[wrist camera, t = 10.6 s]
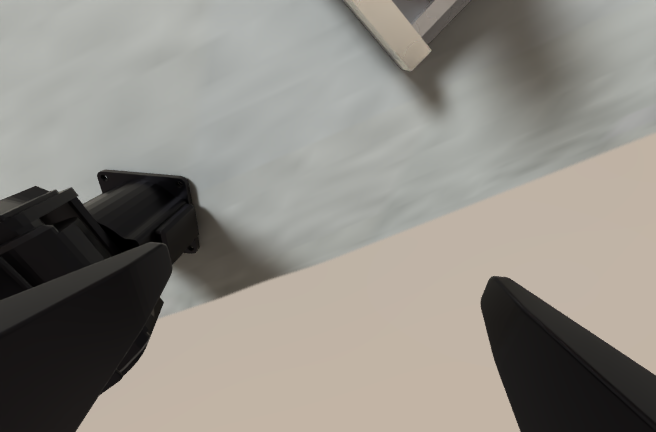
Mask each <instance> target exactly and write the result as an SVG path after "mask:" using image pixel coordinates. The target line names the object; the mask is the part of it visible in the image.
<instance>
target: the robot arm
mask: <svg viewBox="0 0 656 432" xmlns="http://www.w3.org/2000/svg"><path fill="white" fill-rule="evenodd" d="M105 176H107V178H108V179H107V178H106V177H105ZM97 177H98V181H99V184H100V187H101V190H102V194H101V195H99V196H97V197H95V198H93V199H91V200H90V201H88V202H86V203H84V204H82V203H81V201H80V200H79V199H78V198H77V196H78V194H77V193H76V192H75V191H74V189H73V188H72V187H71V188H68V189H66V190H63V191H61V192H58V191H57V190H53V191H50V192H49V191H47V190H44V189H42V188H39V187H37V186H34V187H32V188H29V189H27V190H25V191H22V192H20V193H17V194H15V195H12V196H10V197H7V198H5V199H2V200H0V432H76V430H77V429H78V427H79V425H80V424H81V422H82V421H83V419H84V418H85V416H86V415H87V413H88V412H89V410H90V409H91V407H92V405H93V404H94V402H95V401H96V399H97V398H98V396H99V395H100V394H102V393H103V392H105V391H106V390H107V389H109V388H110V387H111V386H113V385H114V384H116V383H117V382H118V381H120V380H121V379H122V377H123V376H124V375H125V374H126V373H127V372H128V371H129V370H130V369H131V368H132V367H133V366H134V365H135V363H136V362H137V361H138V360H139V358H140V357H141V355H142V354H143V352H144V350H145V348H146V346H147V343H148V341H149V339H150V336H151V334H152V331H153V329H154V326H155V323H156V321H157V318H158V316H159V313H160V311H161V308H162V306H163V303H164V302H163V301H162V299H161V298H160V295H161V293H162V292H163V290H164V288H165V286H166V284H167V282H168V280H169V278H170V276H171V273H172V265H173V264H174V262H175V261H176V260H177V259H178V258H179V257H180V256H181V254H182V253H196V252H197V250H198V249H199V242H198V235H199V232H198V226H197V220H196V214H195V208H194V206H193V205H192V201H191V195H190V189H189V183H188V181H187V179H186V178H184V177H182V176H174V175H163V174H151V173H139V172H128V171H116V170H103V171H100V172H99V173H98V174H97ZM178 181H179V182H181V183H182V186H181V185H180V184H179V183H178ZM191 246H192V247H193V248H192V247H191ZM481 310H482V313H483V317H484V321H485V326H486V330H487V333H488V337H489V341H490V345H491V349H492V353H493V357H494V360H495V363H496V366H497V369H498V371H499V375H500V377H501V380H502V383H503V385H504V388H505V391H506V393H507V396H508V399H509V401H510V404H511V407H512V410H513V412H514V415H515V418H516V420H517V423H518V426H519V428H520V431H521V432H656V375H654V374H653V373H651V372H650V371H648V370H647V369H645V368H644V367H642V366H641V365H639V364H638V363H636V362H635V361H633V360H632V359H630V358H629V357H627V356H626V355H624V354H622V353H621V352H620V351H618V350H616V349H615V348H613V347H612V346H611V345H609V344H608V343H606V342H604V341H603V340H602V339H600V338H599V337H597V336H596V335H594V334H592V333H591V332H590V331H588V330H587V329H585V328H583V327H582V326H580V325H579V324H577V323H576V322H574V321H573V320H571V319H570V318H568V317H567V316H565V315H564V314H562V313H561V312H559V311H558V310H556V309H555V308H553V307H552V306H550V305H549V304H547V303H546V302H544V301H543V300H541V299H540V298H538V297H537V296H535V295H534V294H532V293H531V292H529V291H528V290H526V289H525V288H523V287H522V286H520V285H519V284H517V283H516V282H514V281H513V280H511V279H510V278H507V277H499V276H493V277H491V278H490V279H489V281H488V283H487V285H486V288H485V290H484V293H483V295H482V298H481Z"/></svg>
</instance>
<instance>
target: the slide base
mask: <svg viewBox="0 0 656 432" xmlns="http://www.w3.org/2000/svg"><path fill="white" fill-rule="evenodd" d="M343 1H344V3H345V4H346V5H347V6H348V7H349V8H350V10H351V11H352V12H353V13H354V14H355V16H356V17H357V18H358V19H359V20H360V21H361V23H362V24H363V25H364V26H365V27H366V28H367V30H368V31H369V32H370V33H371V34H372V36H373V37H374V38H375V39H376V40H377V41H378V43H379V44H380V45H381V46H382V47H383V48H384V50H385V51H386V52H387V53H388V54H389V56H390V57H391V58H392V59H393V60H394V61H395V63H396V64H397V65H398V66H399V67H400V68H401V69H403V70H408V71H412V70H413V69H414V68H415V67H416V66H417V65H418V64H419V63H420V62H421V61H422V60H423V59H424V58H425V57H426V56H427V55H428V54H429V53H430V52H431V51H432V50H431V49H430V48H429V47H428V44H429V43H430V42H431V41H432V40H433V39H434V38H435V37H436V36H437V35H438V34H439V33H440V32H441V30H442V29H443V28H444V27H445V26H446V25H447V24H448V23H449V22H450V21H451V20H452V19H453V18H454V17H455V16H456V15H457V14H458V13H459V12H460V11H461V10H462V9H463V8H464V7H465V6H466V5H467V4H468V3H469V2H470V1H471V0H343Z"/></svg>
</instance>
